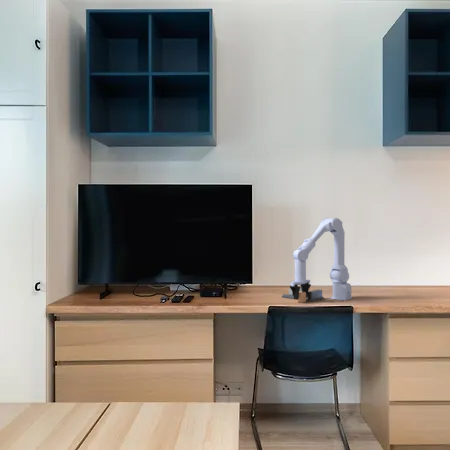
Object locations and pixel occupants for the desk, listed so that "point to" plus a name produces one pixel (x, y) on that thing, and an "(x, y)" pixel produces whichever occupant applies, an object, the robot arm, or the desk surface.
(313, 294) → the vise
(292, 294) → the moving jaw
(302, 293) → the block
